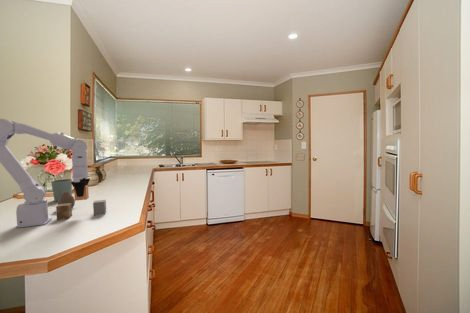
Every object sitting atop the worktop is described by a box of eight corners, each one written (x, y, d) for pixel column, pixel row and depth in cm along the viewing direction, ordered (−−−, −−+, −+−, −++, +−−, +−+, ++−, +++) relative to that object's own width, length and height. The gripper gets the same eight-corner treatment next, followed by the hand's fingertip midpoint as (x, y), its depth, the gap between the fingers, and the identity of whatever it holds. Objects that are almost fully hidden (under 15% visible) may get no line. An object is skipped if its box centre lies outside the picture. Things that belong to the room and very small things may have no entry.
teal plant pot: (64, 201, 134) (63, 181, 134) (47, 201, 134) (46, 181, 134) (76, 197, 144) (75, 178, 144) (61, 197, 144) (60, 179, 144)
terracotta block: (74, 200, 103) (74, 187, 102) (77, 198, 107) (76, 185, 106) (86, 199, 104) (85, 186, 104) (88, 197, 108) (88, 184, 108)
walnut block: (56, 220, 100) (56, 206, 100) (60, 217, 105) (59, 204, 104) (69, 218, 102) (68, 205, 102) (72, 215, 106) (71, 203, 106)
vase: (55, 210, 116) (54, 193, 115) (69, 206, 122) (68, 190, 122) (64, 211, 113) (63, 194, 113) (78, 207, 120) (77, 191, 119)
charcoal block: (93, 215, 106) (93, 202, 105) (95, 213, 110) (94, 200, 109) (104, 214, 107) (104, 201, 107) (106, 211, 111) (105, 199, 111)
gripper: (86, 167, 99) (88, 197, 100) (93, 164, 113) (94, 191, 114) (67, 167, 97) (69, 199, 98) (76, 165, 110) (78, 193, 111)
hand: (81, 195), depth 105 cm, fingers closed on terracotta block, 4 cm apart
